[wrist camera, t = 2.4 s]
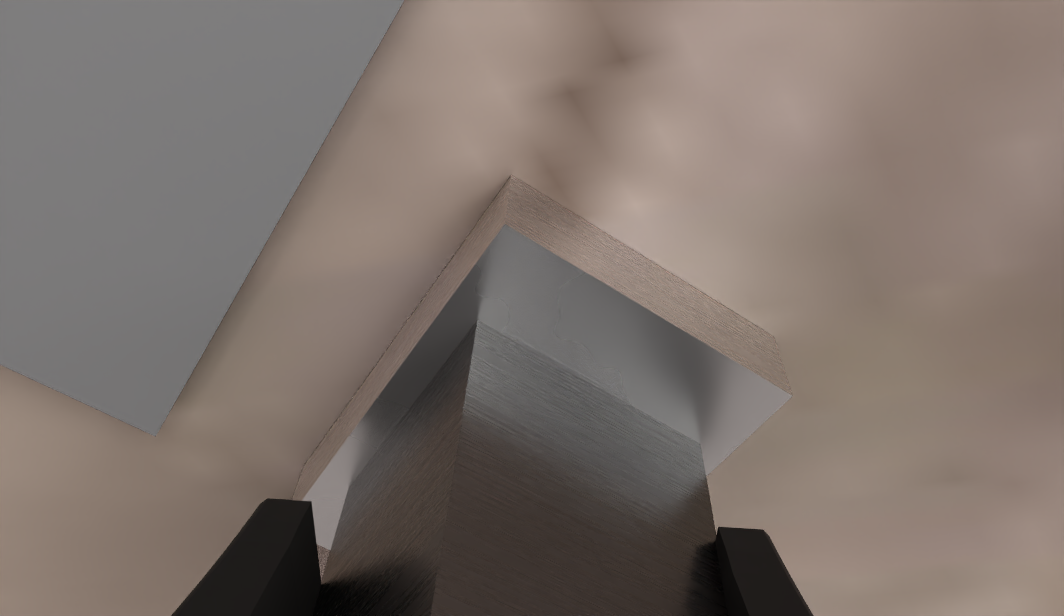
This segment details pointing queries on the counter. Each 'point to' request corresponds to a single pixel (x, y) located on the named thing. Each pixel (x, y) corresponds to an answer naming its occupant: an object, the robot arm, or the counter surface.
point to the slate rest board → (153, 175)
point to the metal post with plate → (540, 434)
